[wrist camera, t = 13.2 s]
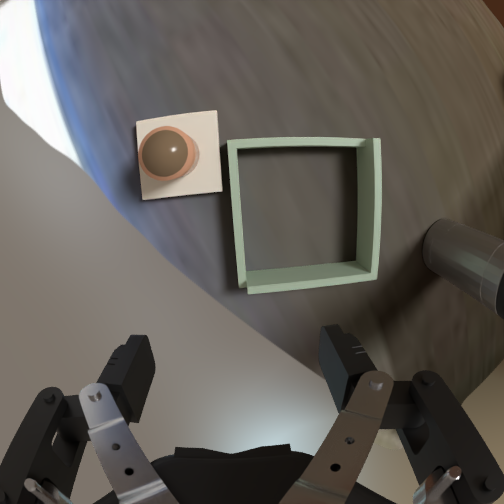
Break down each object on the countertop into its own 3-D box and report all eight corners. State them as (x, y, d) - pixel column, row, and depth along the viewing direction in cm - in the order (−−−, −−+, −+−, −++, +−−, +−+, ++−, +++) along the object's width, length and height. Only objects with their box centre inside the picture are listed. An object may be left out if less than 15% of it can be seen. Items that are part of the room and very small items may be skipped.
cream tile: (217, 112, 32) (216, 110, 30) (222, 190, 35) (222, 191, 34) (139, 123, 31) (136, 121, 30) (146, 198, 34) (142, 200, 33)
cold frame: (362, 140, 34) (380, 138, 29) (361, 266, 40) (376, 279, 35) (227, 142, 33) (227, 138, 28) (238, 278, 39) (239, 295, 34)
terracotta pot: (198, 131, 31) (190, 122, 24) (200, 175, 33) (193, 178, 26) (154, 136, 31) (136, 130, 24) (157, 179, 32) (140, 183, 26)
